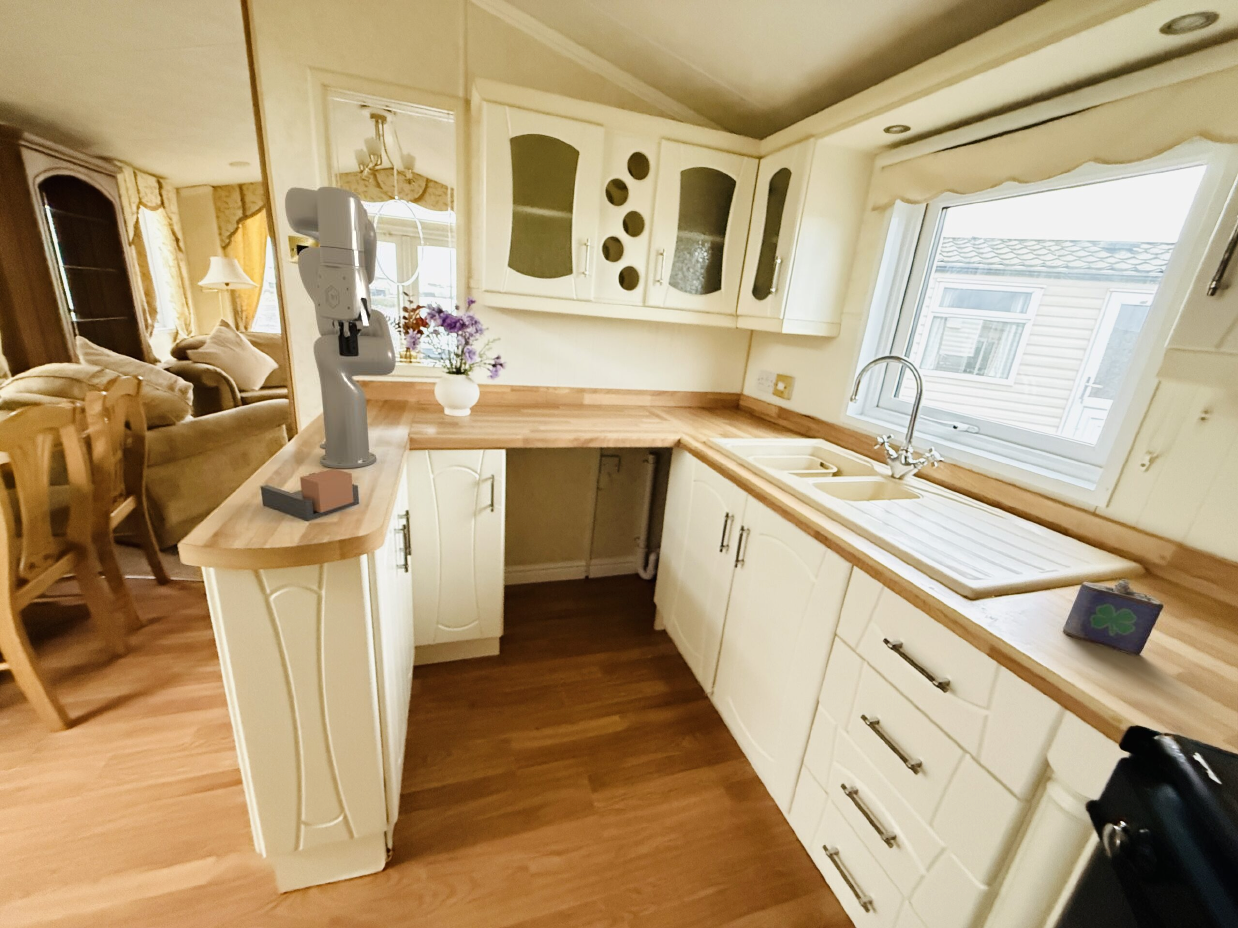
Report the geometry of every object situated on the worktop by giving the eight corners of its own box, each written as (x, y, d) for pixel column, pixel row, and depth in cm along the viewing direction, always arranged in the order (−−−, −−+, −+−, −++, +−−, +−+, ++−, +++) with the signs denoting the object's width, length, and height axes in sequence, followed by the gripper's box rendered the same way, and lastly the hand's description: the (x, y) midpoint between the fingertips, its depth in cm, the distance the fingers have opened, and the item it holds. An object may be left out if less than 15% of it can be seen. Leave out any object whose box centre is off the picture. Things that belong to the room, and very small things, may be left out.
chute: (262, 505, 97) (260, 486, 96) (316, 490, 107) (314, 472, 106) (307, 521, 92) (305, 501, 91) (359, 503, 102) (357, 485, 101)
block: (303, 506, 95) (300, 477, 93) (336, 496, 101) (334, 468, 100) (320, 512, 93) (318, 482, 91) (353, 501, 99) (351, 473, 98)
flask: (1064, 635, 78) (1088, 574, 75) (1059, 626, 80) (1083, 567, 77) (1143, 659, 73) (1173, 595, 70) (1136, 648, 76) (1164, 587, 73)
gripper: (298, 255, 95) (306, 352, 100) (353, 259, 90) (359, 361, 95) (333, 261, 102) (340, 351, 107) (387, 264, 96) (391, 359, 102)
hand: (349, 356), depth 101 cm, fingers closed
